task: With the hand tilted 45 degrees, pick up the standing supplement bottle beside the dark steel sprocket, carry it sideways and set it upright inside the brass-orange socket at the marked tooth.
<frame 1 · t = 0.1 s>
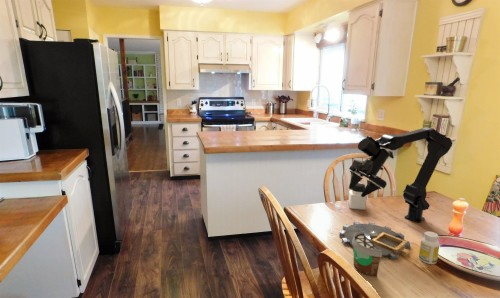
hand: (355, 192, 120), 15 cm above the table, tool tilted 35°, fingers open, 9 cm apart
supplement bottle: (427, 260, 99), on the table
food container: (360, 268, 94), on the table
medicine bottle: (356, 206, 142), on the table
sprocket: (373, 240, 111), on the table
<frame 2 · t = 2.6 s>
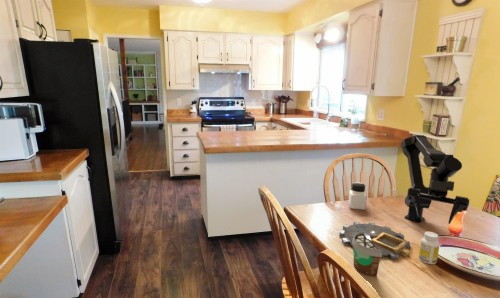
hand: (433, 219, 101), 12 cm above the table, tool tilted 45°, fingers open, 9 cm apart
nothing on the table moved.
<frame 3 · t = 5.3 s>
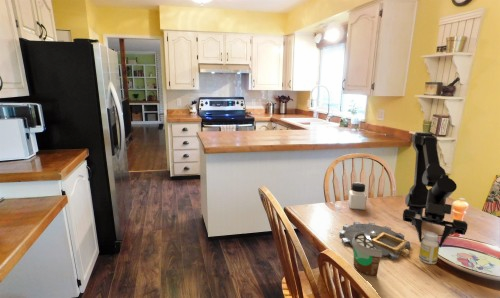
hand: (430, 244, 96), 7 cm above the table, tool tilted 45°, fingers closed on supplement bottle, 5 cm apart
supplement bottle: (427, 260, 99), on the table, touching gripper
everything else where it was.
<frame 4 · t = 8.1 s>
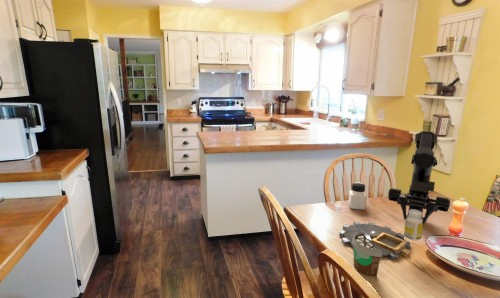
hand: (414, 221, 98), 13 cm above the table, tool tilted 45°, fingers closed on supplement bottle, 5 cm apart
supplement bottle: (412, 237, 101), point 6 cm above the table, touching gripper
everything else where it was.
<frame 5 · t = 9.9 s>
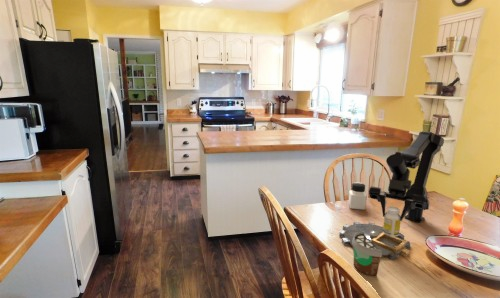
hand: (392, 218, 103), 12 cm above the table, tool tilted 45°, fingers closed on supplement bottle, 5 cm apart
supplement bottle: (390, 233, 105), point 5 cm above the table, touching gripper
everything else where it was.
when the fingers open (9 cm above the table, at t = 11.3 s): supplement bottle drops 1 cm, resting on sprocket.
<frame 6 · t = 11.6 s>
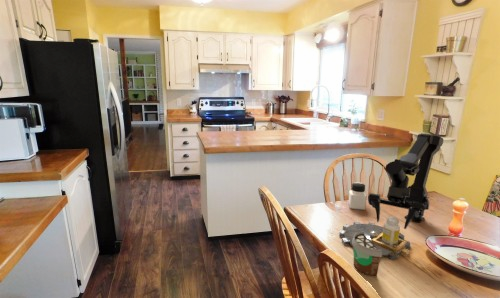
hand: (390, 225, 103), 10 cm above the table, tool tilted 45°, fingers open, 9 cm apart
supplement bottle: (389, 243, 106), point 1 cm above the table, touching sprocket
everything else where it was.
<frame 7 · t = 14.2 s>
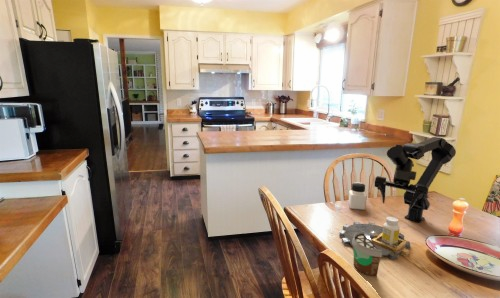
hand: (396, 206, 110), 13 cm above the table, tool tilted 40°, fingers open, 9 cm apart
nothing on the table moved.
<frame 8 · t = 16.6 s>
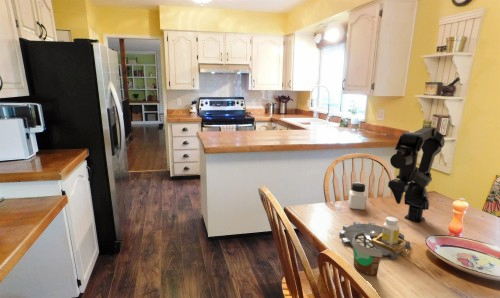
hand: (403, 200, 116), 13 cm above the table, tool pointing down, fingers open, 9 cm apart
nothing on the table moved.
at the end: supplement bottle 0.2 cm from the target spot, point 1.3 cm above the table; supplement bottle tilted 1°; the gripper is holding nothing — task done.
